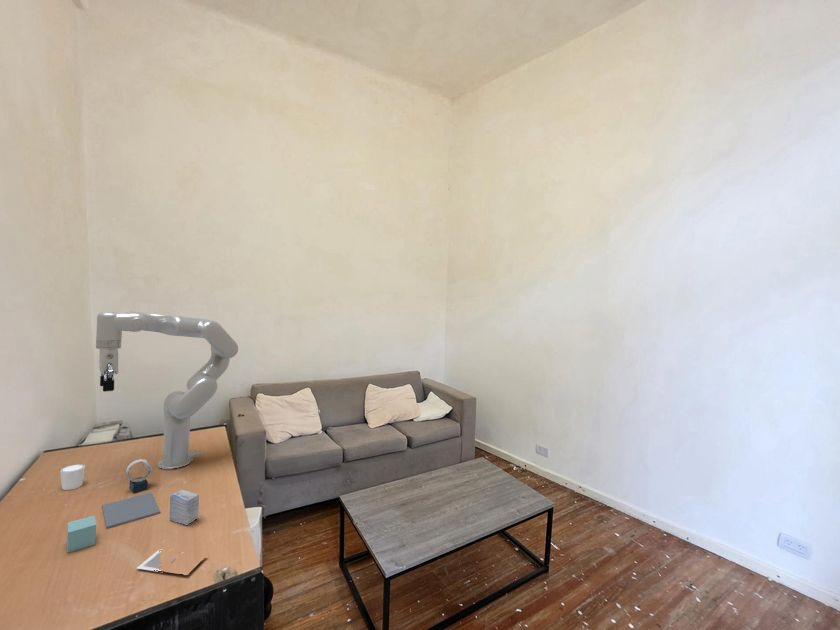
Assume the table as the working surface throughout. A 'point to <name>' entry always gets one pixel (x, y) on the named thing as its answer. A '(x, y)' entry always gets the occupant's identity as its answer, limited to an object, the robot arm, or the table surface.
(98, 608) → the table surface
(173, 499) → the medicine box
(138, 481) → the watch
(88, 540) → the cube
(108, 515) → the mat
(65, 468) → the white cylinder
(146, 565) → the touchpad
